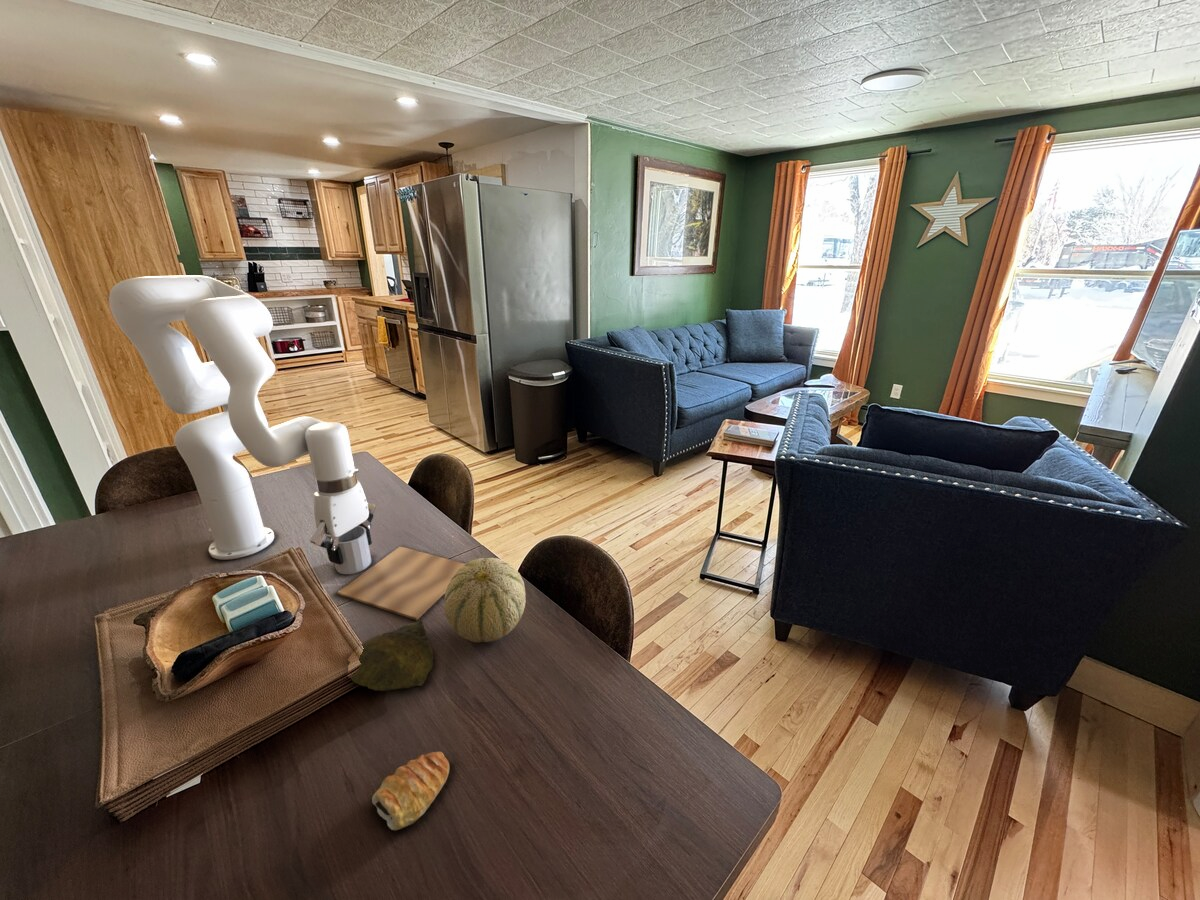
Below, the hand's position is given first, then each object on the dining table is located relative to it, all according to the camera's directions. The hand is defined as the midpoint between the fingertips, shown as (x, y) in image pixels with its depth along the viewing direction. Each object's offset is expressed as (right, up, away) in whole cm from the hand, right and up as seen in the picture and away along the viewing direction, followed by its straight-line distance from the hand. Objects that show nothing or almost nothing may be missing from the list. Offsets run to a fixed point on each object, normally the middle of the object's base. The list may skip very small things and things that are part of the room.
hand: (351, 552), depth 105 cm
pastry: (+31, -22, -44) cm, 58 cm away
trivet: (+14, -5, -3) cm, 15 cm away
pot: (0, -3, +1) cm, 3 cm away
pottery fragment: (+20, -14, -23) cm, 33 cm away
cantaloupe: (+34, -11, -16) cm, 40 cm away
